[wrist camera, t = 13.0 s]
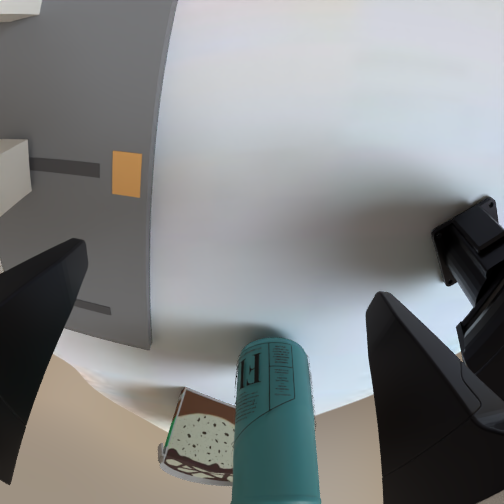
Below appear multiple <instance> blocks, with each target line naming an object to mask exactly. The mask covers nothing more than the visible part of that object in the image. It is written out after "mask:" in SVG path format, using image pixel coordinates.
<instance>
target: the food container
mask: <svg viewBox="0 0 504 504" xmlns="http://www.w3.org/2000/svg"><path fill="white" fill-rule="evenodd" d="M234 408H235V409H234ZM235 412H236V407H235V406H234V405H231V404H228V403H225V402H223V401H220V400H217V399H215V398H212V397H209V396H207V395H204V394H202V393H199V392H197V391H194V390H192V389H189V388H187V387H185V388H184V389H183V390H182V391H181V394H180V398H179V401H178V404H177V407H176V410H175V414H174V417H173V420H172V423H171V426H170V430H169V433H168V437H167V440H166V443H165V446H164V449H163V443H161V444H159V446H158V461H159V463H160V467H161V469H162V470H163V471H165V472H167V473H168V474H170V475H172V476H175V477H178V478H180V479H184V480H187V481H192V482H196V483H201V484H208V485H217V486H232V484H233V470H232V469H233V451H234V448H233V447H234V446H233V445H234V443H232V442H234V432H235V421H234V420H235V416H234V414H236V413H235ZM232 446H233V447H232ZM232 450H233V451H232ZM231 454H232V455H231ZM231 465H232V466H231Z"/></svg>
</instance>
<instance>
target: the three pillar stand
mask: <svg viewBox="0 0 504 504" xmlns="http://www.w3.org/2000/svg"><path fill="white" fill-rule="evenodd" d="M177 2H178V0H0V139H28V154H29V168H30V179H31V188H32V191H31V192H30V193H28V194H27V195H26V196H25V197H23V198H22V199H21V200H20V201H18V202H17V203H16V204H15V205H14V206H12V207H11V208H10V209H9V210H8V211H7V212H5V213H4V214H3V215H2V216H1V217H0V260H1V263H2V266H3V269H4V272H5V271H7V270H9V269H11V268H12V267H14V266H16V265H18V264H20V263H22V262H24V261H26V260H28V259H30V258H32V257H34V256H36V255H38V254H40V253H42V252H44V251H46V250H48V249H50V248H52V247H54V246H56V245H58V244H60V243H63V242H65V241H67V240H69V239H71V238H78V239H83V240H84V241H85V242H86V246H87V254H88V269H87V272H86V275H85V277H84V280H83V282H82V285H81V288H80V290H79V293H78V296H77V299H76V301H75V304H74V307H73V309H72V312H71V314H70V316H69V318H68V320H67V322H66V325H65V327H64V328H66V329H69V330H72V331H76V332H79V333H83V334H86V335H90V336H93V337H97V338H101V339H104V340H108V341H112V342H116V343H120V344H124V345H128V346H132V347H137V348H141V349H145V350H150V347H151V344H152V338H151V316H150V218H151V195H152V179H153V165H154V153H155V142H156V131H157V122H158V113H159V105H160V97H161V90H162V83H163V76H164V70H165V64H166V57H167V52H168V46H169V40H170V35H171V30H172V25H173V20H174V15H175V11H176V6H177Z"/></svg>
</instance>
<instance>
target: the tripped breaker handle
mask: <svg viewBox="0 0 504 504" xmlns="http://www.w3.org/2000/svg"><path fill="white" fill-rule="evenodd" d="M31 191H32V188H31V179H30V168H29V154H28V139H0V217H1V216H2V215H3V214H4V213H5V212H7V211H8V210H9V209H10V208H11V207H12V206H14V205H15V204H16V203H17V202H18V201H20V200H21V199H22V198H23V197H25V196H26V195H27V194H28V193H30V192H31Z"/></svg>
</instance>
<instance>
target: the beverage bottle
mask: <svg viewBox="0 0 504 504" xmlns="http://www.w3.org/2000/svg"><path fill="white" fill-rule="evenodd" d="M239 356H240V357H239V362H237V363H238V366H237V365H236V366H237V367H238V368H237V369H238V370H237V369H236V370H237V371H236V374H238V378H237V396H236V403H235V404H236V406H235V405H234V406H235V407H236V412H235V413H236V414H234V416H235V420H234V421H235V432H234V442H232V443H234V445H233V446H234V447H233V446H232V447H233V448H234V451H233V450H232V451H233V469H232V470H233V484H232V501H231V504H321V499H320V490H319V477H318V465H317V453H316V441H315V431H314V416H315V415H314V413H313V409H314V406H315V405H314V406H313V404H312V399H313V398H314V397H312V396H313V395H311V391H312V389H313V388H312V387H311V386H310V382H311V381H310V379H311V378H310V377H309V375H310V374H311V373H310V372H309V368H308V367H309V366H308V359H307V356H308V355H306V353H305V351H304V350H303V348H302V347H301V346H300V345H299V344H298V343H296V342H294V341H292V340H289V339H285V338H276V337H272V338H263V339H259V340H256V341H253V342H251V343H249V344H248V345H247V346H246V347H244V349H243V350H242V352H241V354H240V355H239ZM308 358H309V357H308ZM309 364H310V363H309ZM236 377H237V375H236ZM311 384H312V382H311ZM235 387H236V381H235ZM311 388H312V389H311ZM234 398H235V397H234ZM234 409H235V408H234ZM314 412H315V411H314ZM231 455H232V454H231ZM231 466H232V465H231Z"/></svg>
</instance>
